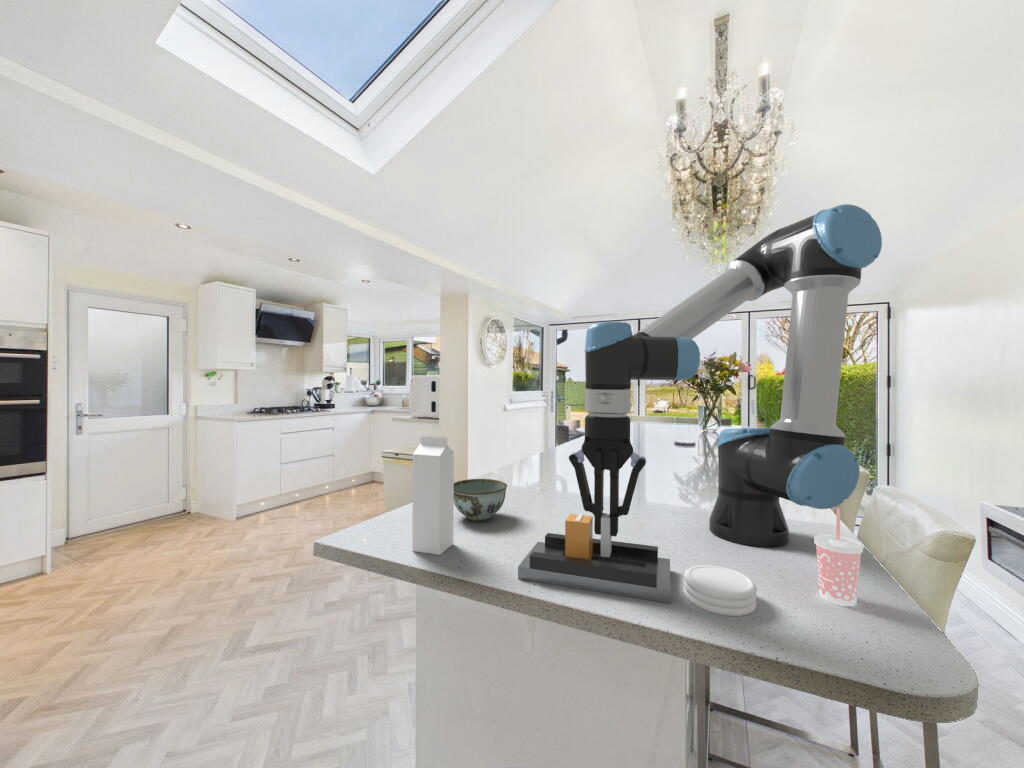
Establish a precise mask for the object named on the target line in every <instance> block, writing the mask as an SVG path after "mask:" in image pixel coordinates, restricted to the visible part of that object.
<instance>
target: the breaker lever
mask: <svg viewBox="0 0 1024 768" xmlns="http://www.w3.org/2000/svg"><path fill="white" fill-rule="evenodd" d="M593 516H594V515H584V514H580V513H579V514H574V513H569V515H568V516H567V518H566V519H565V521H564V522H565V523H564V525H565V526H564V528H565V530H564V532H565V534H564V535H565V556H567V557H574V558H581V559H589V560H591V558H592V541H593V539H594V537H593V535H594V534H593V530H594V528H593V527H594V525H593V524H594V523H593V518H594V517H593Z"/></svg>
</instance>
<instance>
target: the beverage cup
mask: <svg viewBox="0 0 1024 768" xmlns="http://www.w3.org/2000/svg"><path fill="white" fill-rule="evenodd" d="M835 516H836V517H835V518H836V520H835V521H836V523H835V525H836V527H835V530H836V531H835V534H831V533H817V534H815V535H813V542H814V543H813V544H815V545H816V546H815V549H816V562H817V566H816V567H817V580H818V581H817V582H818V595H819V594H820V595H821V596H822V597H823V598H825V599H826V600H829V601H832V602H835V603H838V604H841V605H854V604H855V603H856V604H857V600H858V590H859V582H860V581H859V578H860V568H861V557H862V553H864V547H865V546H864V543H862V542H861V541H859V540H856V539H853V538H851V537H847V536H843V535H841V507H836V515H835Z"/></svg>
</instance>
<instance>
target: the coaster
mask: <svg viewBox="0 0 1024 768" xmlns="http://www.w3.org/2000/svg"><path fill="white" fill-rule="evenodd" d="M683 579H684V582H683V587H684V588H683V594H684V596H685V598H686V599H687V600H688V601H689V602H690V603H691V604H692V603H693V604H692V605H694V606H695V605H696V606H695V607H698V608H699V609H701V610H703V611H705V612H710V613H713V614H716V615H719V616H726V617H728V616H729V617H742V616H743V615H744V616H747V615H750V614H752V613H754V612H755V611H756V609H757V607H758V606H757V605H758V603H757V599H758V598H757V597H758V596H757V592H758V588H757V585H756V583H755V582H754V581H753V580H752V579H751V578H750V577H749V576H747V575H746V574H744V573H742V572H740V571H737V570H734V569H732V568H727V567H723V566H718V565H712V564H711V565H709V564H703V565H702V564H701V565H700V564H699V565H695V566H691V567H690V568H688V569H686V570H685V572H684V575H683Z"/></svg>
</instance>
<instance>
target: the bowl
mask: <svg viewBox="0 0 1024 768" xmlns="http://www.w3.org/2000/svg"><path fill="white" fill-rule="evenodd" d="M507 487H508V484H507V483H506V482H505V481H501V480H497V479H491V478H470V479H464V480H463V479H462V480H458V481H456V482H455V481H454V506H455V508H456V509H457V511H459V513H460V514H462V515H463V516H465V518H466V520H467V519H468V520H467V521H469V522H472V521H474V522H475V523H483V522H484V521H485V522H489V521H490V520H492V518H493V516H494V515H495V514H496V513H497V512H498V511H500V509H502V506H503V505H504V503H505V499H506V492H507ZM474 522H473V523H474Z"/></svg>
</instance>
